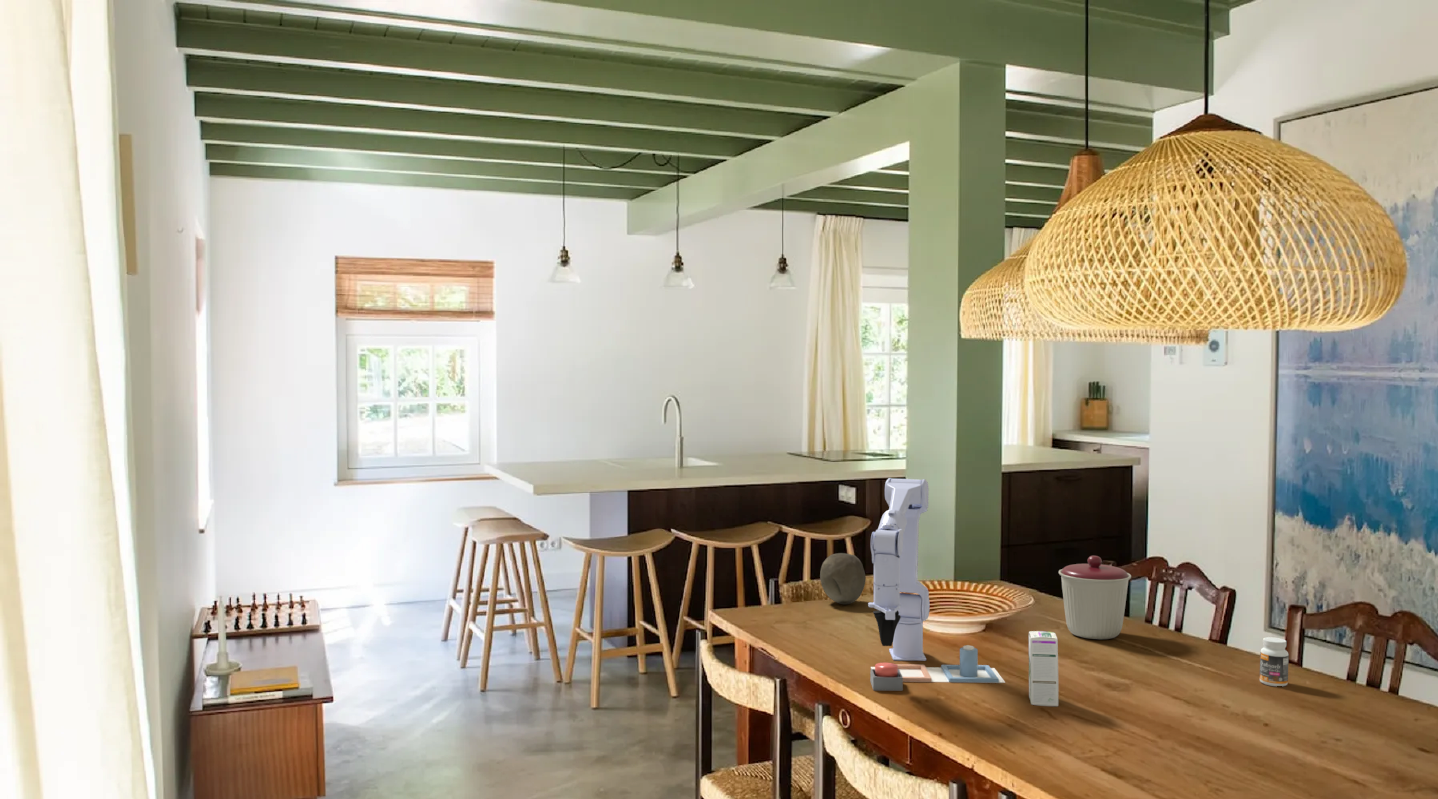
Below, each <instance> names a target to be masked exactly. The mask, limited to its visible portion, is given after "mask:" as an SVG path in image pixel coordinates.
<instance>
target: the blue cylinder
mask: <svg viewBox="0 0 1438 799" xmlns="http://www.w3.org/2000/svg"><path fill="white" fill-rule="evenodd" d="M978 651H979V649H978V648H976V647H975V645H974V646H973V645H969V644H967V645H963V646H962V647H960V648H959V665H960V676H962V677H977V676H978V665H979V664H978V662H979V660H978V659H979V658H978V654H979V653H978Z"/></svg>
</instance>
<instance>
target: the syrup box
mask: <svg viewBox="0 0 1438 799" xmlns="http://www.w3.org/2000/svg"><path fill="white" fill-rule="evenodd" d="M1058 640H1059V639H1058V636H1057V634H1056V632H1054V631H1045V630H1036V631H1035V630H1033V631H1032V630H1031V631H1030V630H1029V631H1028V699H1029V700H1030V701H1029V702H1030V705H1032V706H1033V705H1034V706H1039V707H1040V706H1041V707H1059V654H1058V653H1059V647H1058V644H1059V642H1058Z"/></svg>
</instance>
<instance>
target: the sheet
mask: <svg viewBox="0 0 1438 799" xmlns="http://www.w3.org/2000/svg"><path fill="white" fill-rule="evenodd" d="M925 667H926V669H927V671H928V673H929V675H930V676H931V682H930V683H950V682H949V681H948V679H947V677H946V675H945V674H944V672H943V670H942V669H941V666H940V667H935V666H934V667H933V666H932V667H927V666H925ZM990 668H991V669H992V671H993V672H994V673H995V675H996V676H997V677H998V679H999V682H977V683H982V684H983V683H985V684H988V683H990V684H991V683H992V684H995V683H996V684H1003V683H1006V681H1005V680H1004V678H1003V677H1002V676H1001V675H1000V673H999V672H998V670H997V669H996V668H995V667H990ZM871 669H875V666H870V670H871ZM899 670H900V673H901V675H902V677H924V675H923V673H922V671H921V669H899ZM948 670H949V671H950V673H951V675H952V676H953V677H962V676H960V669H948ZM977 677H982V678H991V677H990V676H989V675H988V673H987V672H986V670H978V676H977Z"/></svg>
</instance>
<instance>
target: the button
mask: <svg viewBox="0 0 1438 799" xmlns="http://www.w3.org/2000/svg"><path fill="white" fill-rule="evenodd" d="M874 667H875V675H876V676H878V677H897V676H898V665H896V664H895V663H893V662H877V663H875V665H874Z"/></svg>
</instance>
